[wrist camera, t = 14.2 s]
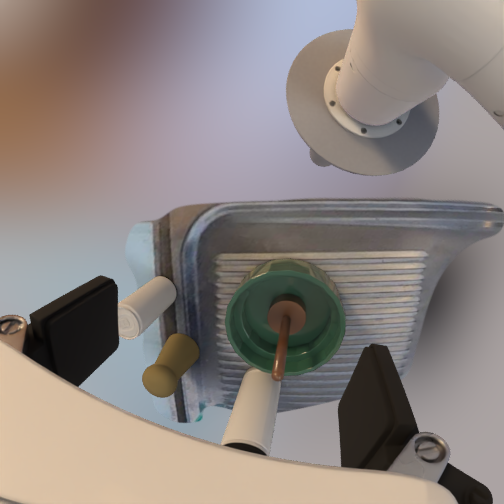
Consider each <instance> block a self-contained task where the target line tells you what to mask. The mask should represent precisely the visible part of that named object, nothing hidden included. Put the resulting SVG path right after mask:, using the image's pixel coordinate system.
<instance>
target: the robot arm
mask: <svg viewBox="0 0 504 504" xmlns="http://www.w3.org/2000/svg"><path fill="white" fill-rule="evenodd" d="M336 70H339V72H337V71H336ZM449 77H450V78H451V79H453V80H454V81H456V82H457V83H458V84H459V85H460V86H461V87H462V88H464V89H465V90H466V91H467V92H468V93H469V94H470V95H471V96H472V97H473V98H474V99H475V100H476V101H477V102H478V103H479V104H480V105H481V106H482V107H483V108H484V109H485V110H486V111H487V112H488V113H489V114H490V115H491V116H492V117H493V119H494V120H495V121H496V122H497V123H498V124H499V125H500V126H501V127H502V128H503V129H504V0H357V16H356V21H355V26H354V29H353V32H352V35H351V39H350V42H349V45H348V48H347V51H346V54H345V57H344V59H342V60H340V61H339V62H337V63H336V64H335V65H334V66H333V67H332V68H331V69H330V70H329V72H328V74H327V76H326V79H325V83H324V99H325V103H326V106H327V108H328V110H329V112H330V114H331V115H332V117H333V118H334V120H335V121H336V122H337V123H338V124H339V125H340V126H342V127H343V128H344V129H346V130H347V131H349V132H351V133H353V134H354V135H357V136H360V137H363V138H371V139H375V138H383V137H387V136H389V135H391V134H393V133H395V132H396V131H398V130H399V129H400V128H401V127H402V126H403V125H404V124H405V122H406V120H407V119H408V116H409V113H410V109H412V108H413V107H415V106H416V105H418V104H420V103H421V102H423V101H425V100H426V99H428V98H429V97H431V96H433V95H434V94H436V93H437V92H439V91H440V90H441V89H442V88H443V87H444V85H445V84H446V82H447V81H448V79H449ZM330 104H334V106H331V105H330ZM396 121H397V122H398V124H397V123H396ZM361 130H364V133H362V132H361ZM30 320H31V323H30V324H29V325H28V324H27V321H26V320H25V319H24V318H23V317H21V316H18V315H6V316H2V317H1V318H0V504H492V503H493V498H492V494H491V492H490V491H489V489H488V488H487V487H486V486H485V485H483V484H482V483H480V482H478V481H477V480H475V479H473V478H472V477H470V476H468V475H467V474H465V473H463V472H462V471H460V470H459V469H457V468H455V467H454V466H452V465H451V464H449V463H448V461H449V457H450V449H449V446H448V444H447V443H446V442H445V440H444V439H442V438H441V437H440V436H438V435H436V434H434V433H430V432H420V433H419V431H418V428H417V424H416V421H415V418H414V415H413V412H412V409H411V407H410V404H409V401H408V398H407V396H406V393H405V390H404V388H403V385H402V383H401V380H400V377H399V375H398V372H397V370H396V367H395V365H394V362H393V360H392V357H391V355H390V352H389V350H388V348H387V346H383V345H377V344H371V345H370V346H369V347H365V348H364V350H363V352H362V354H361V357H360V359H359V361H358V364H357V366H356V368H355V370H354V373H353V375H352V377H351V379H350V381H349V383H348V386H347V388H346V390H345V392H344V394H343V396H342V398H341V400H340V403H339V406H338V418H339V432H340V448H341V467H336V466H326V465H318V464H311V463H304V462H298V461H292V460H286V459H279V458H274V457H269V456H264V455H260V454H255V453H251V452H246V451H242V450H238V449H234V448H230V447H227V446H223V445H219V444H216V443H212V442H209V441H205V440H202V439H199V438H196V437H193V436H190V435H187V434H184V433H181V432H178V431H175V430H172V429H169V428H167V427H164V426H161V425H159V424H156V423H154V422H151V421H149V420H146V419H144V418H141V417H139V416H137V415H134V414H132V413H130V412H127V411H125V410H123V409H120V408H119V407H116V406H114V405H112V404H110V403H108V402H106V401H104V400H102V399H99V398H98V397H96V396H94V395H92V394H90V393H88V392H86V391H84V390H82V389H81V388H79V385H81V384H82V382H84V381H85V380H86V379H87V378H88V377H89V376H90V375H91V374H92V373H93V372H94V371H95V370H96V369H97V368H98V367H99V366H100V365H101V364H102V363H103V362H104V361H105V360H106V359H107V358H108V357H109V356H111V355H112V353H114V352H115V351H116V350H117V348H118V345H119V328H118V287H117V285H116V284H115V282H114V280H113V279H110V278H107V277H104V276H98V277H96V278H94V279H92V280H90V281H89V282H87V283H85V284H83V285H81V286H79V287H78V288H76V289H74V290H72V291H70V292H69V293H67V294H65V295H63V296H61V297H60V298H58V299H56V300H54V301H52V302H51V303H49V304H47V305H45V306H44V307H42V308H40V309H38V310H37V311H35V312H33V313H32V314H30Z"/></svg>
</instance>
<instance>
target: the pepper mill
mask: <svg viewBox="0 0 504 504" xmlns="http://www.w3.org/2000/svg"><path fill="white" fill-rule="evenodd" d="M199 354H200V353H199V348H198V346H197V344H196V343H195V341H194V340H193V339H191V338H190V337H189V336H187V335H184V334H178V333H177V334H173V335H171V336H170V337H169V338H168V339H167V341H166V343H165V345H164V347H163V349H162V351H161V352H160V354H159V356H158V358H157V360H156V362H155V364H153V365H151V366H149V367H148V368H147V369H146V370H145V371H144V373H143V376H142V381H143V385H144V387H145V388H146V389H147V390H148V392H150V393H151V394H152V395H154V396H156V397H161V398H164V397H168V396H170V395H172V394H173V393H174V392H175V390H176V388H177V383H178V380H179V378H180V377H181V376H182V375H183V374H184V373H185V372H186V371H187V370H188V369H189V368H190V367H191V366H192V365H193V364H194V362H195V361H196V360H197V359H198V358H199Z"/></svg>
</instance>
